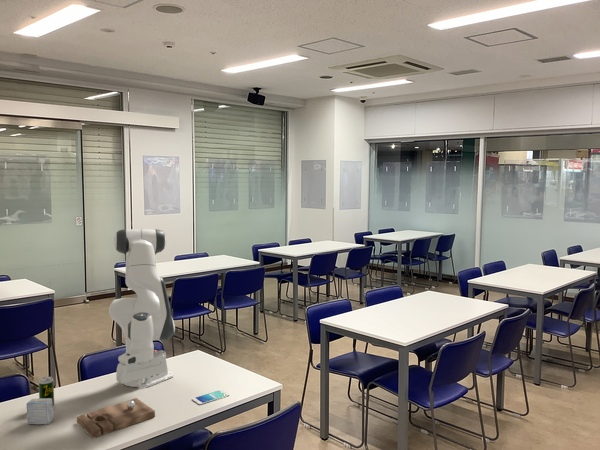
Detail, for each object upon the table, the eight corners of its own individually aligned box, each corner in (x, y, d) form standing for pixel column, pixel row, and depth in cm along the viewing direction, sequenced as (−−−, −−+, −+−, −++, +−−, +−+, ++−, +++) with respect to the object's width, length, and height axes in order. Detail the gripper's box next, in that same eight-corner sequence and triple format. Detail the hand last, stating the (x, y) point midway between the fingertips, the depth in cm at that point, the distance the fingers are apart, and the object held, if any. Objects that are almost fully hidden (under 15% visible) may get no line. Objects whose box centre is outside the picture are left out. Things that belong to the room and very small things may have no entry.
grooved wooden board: (136, 403, 208) (136, 398, 207) (154, 416, 196) (154, 410, 196) (77, 422, 191) (76, 416, 191) (93, 438, 180) (93, 431, 179)
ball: (133, 406, 200) (132, 398, 200) (136, 408, 198) (136, 400, 197) (125, 408, 198) (125, 400, 197) (129, 411, 195) (128, 403, 195)
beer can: (36, 408, 203) (35, 379, 202) (49, 403, 208) (48, 375, 207) (45, 411, 201) (43, 382, 200) (57, 406, 205) (56, 378, 204)
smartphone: (230, 394, 216) (199, 404, 206) (230, 396, 216) (199, 406, 206) (221, 389, 222) (191, 398, 212) (221, 391, 222) (191, 400, 212)
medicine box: (53, 419, 194) (52, 397, 193) (48, 425, 189) (47, 402, 189) (32, 419, 194) (31, 398, 193) (27, 425, 189) (26, 403, 188)
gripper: (162, 347, 209) (162, 380, 209) (114, 357, 194) (114, 392, 195) (169, 350, 204) (170, 384, 205) (121, 361, 190) (121, 397, 191)
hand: (142, 388), depth 200 cm, fingers closed
